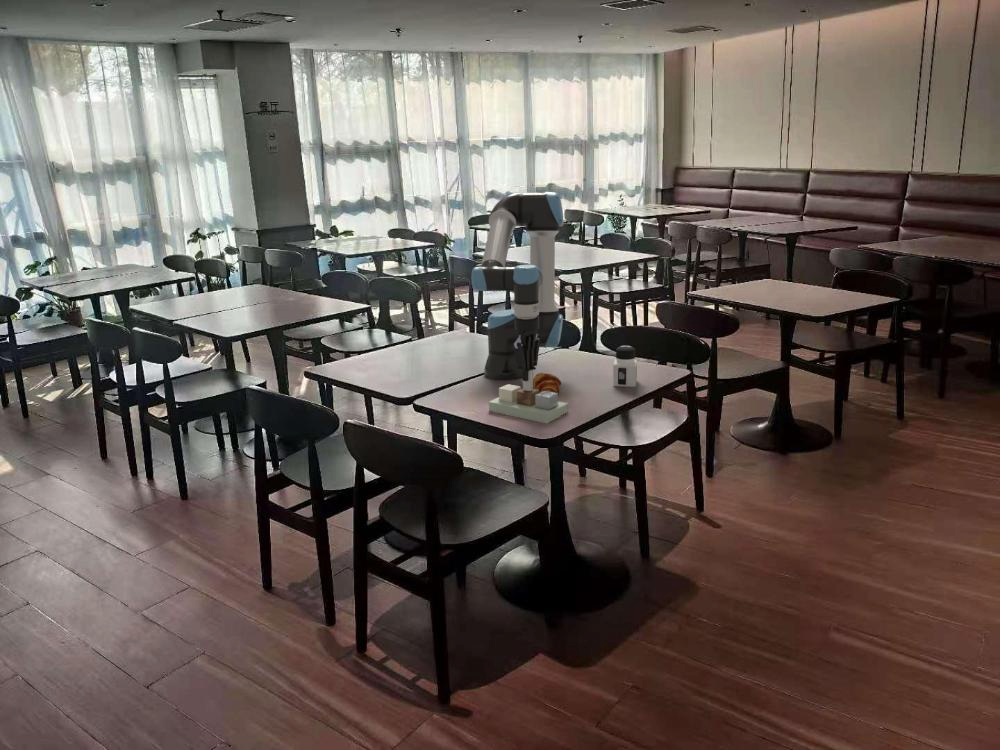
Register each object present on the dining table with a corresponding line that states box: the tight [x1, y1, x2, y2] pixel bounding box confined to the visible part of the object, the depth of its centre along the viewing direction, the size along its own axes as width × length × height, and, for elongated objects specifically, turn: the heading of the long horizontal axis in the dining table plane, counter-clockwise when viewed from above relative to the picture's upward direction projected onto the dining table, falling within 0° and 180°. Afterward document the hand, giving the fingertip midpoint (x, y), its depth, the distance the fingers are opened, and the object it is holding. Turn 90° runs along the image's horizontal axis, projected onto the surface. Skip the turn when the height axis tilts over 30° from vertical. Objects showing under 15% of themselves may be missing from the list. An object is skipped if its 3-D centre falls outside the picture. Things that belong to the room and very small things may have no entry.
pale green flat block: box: [488, 396, 569, 424], centre depth 255 cm, size 22×12×3 cm, turn 54°
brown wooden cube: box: [517, 388, 539, 407], centre depth 254 cm, size 5×5×5 cm
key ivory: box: [498, 383, 522, 403], centre depth 258 cm, size 5×5×5 cm
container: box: [612, 345, 638, 388], centre depth 279 cm, size 8×8×13 cm
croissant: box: [533, 372, 562, 393], centre depth 274 cm, size 21×10×8 cm, turn 4°
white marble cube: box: [535, 391, 559, 411], centre depth 250 cm, size 5×5×5 cm
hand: (527, 389), depth 253 cm, fingers closed
